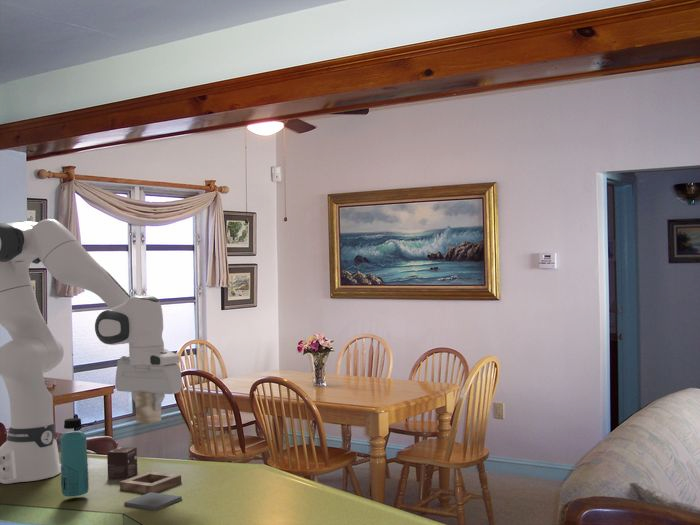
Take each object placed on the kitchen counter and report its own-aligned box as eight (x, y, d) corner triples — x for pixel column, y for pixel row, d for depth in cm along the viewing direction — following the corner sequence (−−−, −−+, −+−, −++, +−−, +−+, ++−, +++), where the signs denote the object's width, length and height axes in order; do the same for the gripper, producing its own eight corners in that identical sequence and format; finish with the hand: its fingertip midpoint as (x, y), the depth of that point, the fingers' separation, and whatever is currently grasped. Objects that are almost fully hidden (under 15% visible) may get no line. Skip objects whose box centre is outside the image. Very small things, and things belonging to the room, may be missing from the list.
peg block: (136, 422, 197) (135, 392, 197) (148, 419, 201) (147, 389, 201) (149, 423, 194) (148, 392, 195) (161, 420, 198) (160, 390, 199)
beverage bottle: (95, 496, 189) (92, 416, 190) (75, 504, 183) (72, 421, 184) (75, 494, 192) (73, 415, 193) (55, 501, 186) (52, 420, 187)
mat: (124, 505, 181) (124, 502, 181) (150, 495, 189) (150, 492, 189) (155, 510, 176) (155, 507, 176) (181, 499, 184) (181, 496, 184)
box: (127, 479, 205) (126, 452, 205) (107, 479, 206) (106, 452, 206) (138, 473, 211) (137, 447, 211) (118, 473, 212) (117, 447, 212)
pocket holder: (119, 489, 195) (119, 481, 195) (149, 478, 205) (149, 471, 205) (152, 494, 190) (151, 486, 190) (181, 482, 199) (181, 475, 199)
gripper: (108, 357, 200) (110, 409, 200) (168, 359, 190) (169, 414, 190) (126, 354, 205) (127, 405, 205) (184, 356, 196) (186, 409, 196)
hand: (148, 409), depth 198 cm, fingers closed on peg block, 4 cm apart
